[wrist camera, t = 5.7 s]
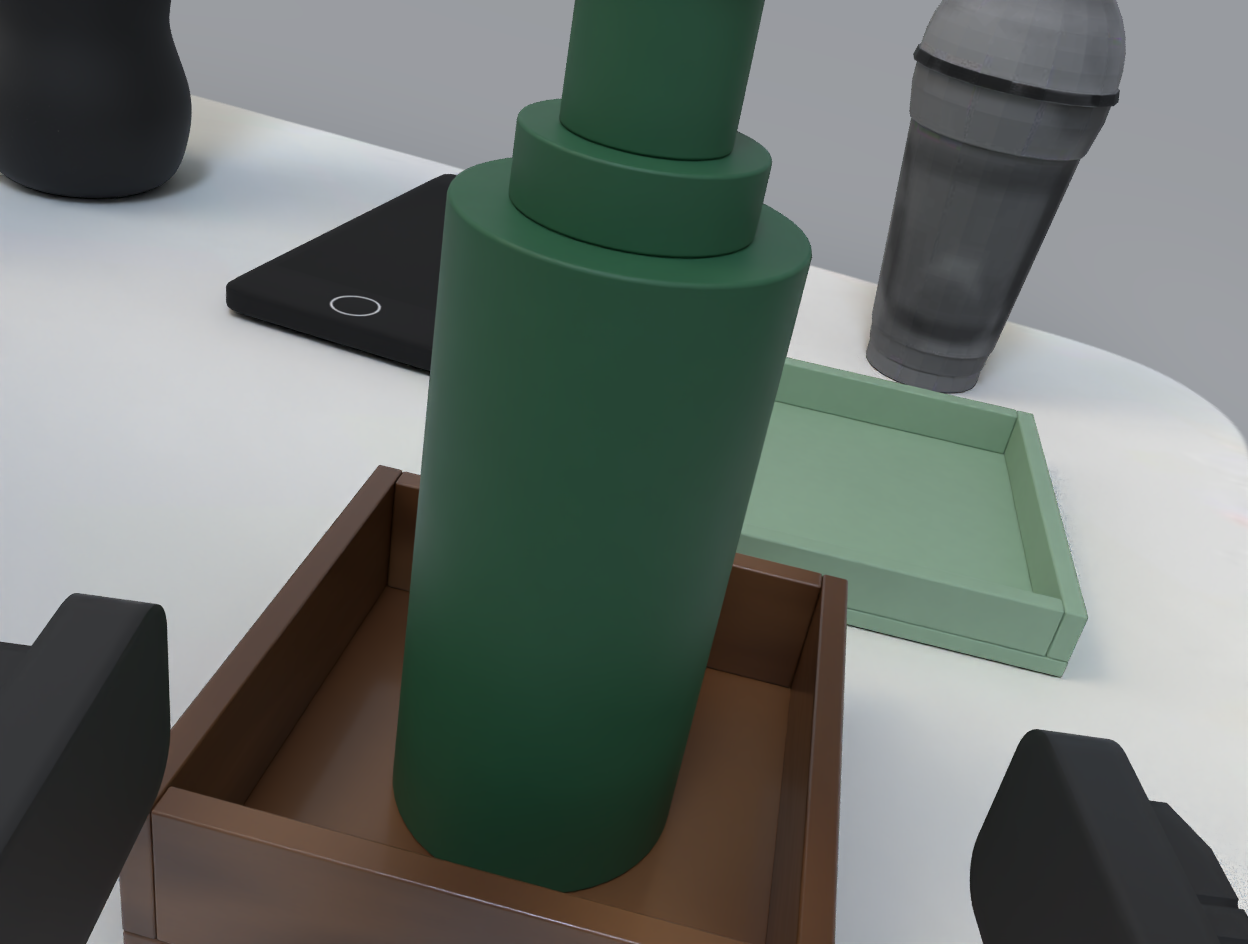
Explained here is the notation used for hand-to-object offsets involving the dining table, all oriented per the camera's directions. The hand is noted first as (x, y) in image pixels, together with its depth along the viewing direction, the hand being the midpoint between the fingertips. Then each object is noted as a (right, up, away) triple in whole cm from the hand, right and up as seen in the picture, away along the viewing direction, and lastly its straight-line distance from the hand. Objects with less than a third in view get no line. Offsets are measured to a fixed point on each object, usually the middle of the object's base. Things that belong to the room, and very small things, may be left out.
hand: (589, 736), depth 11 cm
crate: (-2, -4, +13) cm, 14 cm away
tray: (+5, +2, +26) cm, 26 cm away
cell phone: (-7, +11, +37) cm, 39 cm away
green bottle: (-2, -4, +13) cm, 13 cm away
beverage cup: (+12, +7, +37) cm, 39 cm away
